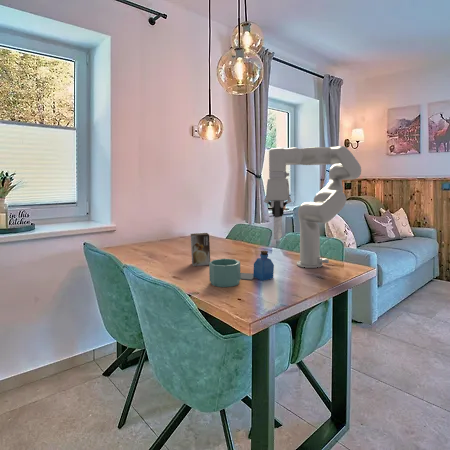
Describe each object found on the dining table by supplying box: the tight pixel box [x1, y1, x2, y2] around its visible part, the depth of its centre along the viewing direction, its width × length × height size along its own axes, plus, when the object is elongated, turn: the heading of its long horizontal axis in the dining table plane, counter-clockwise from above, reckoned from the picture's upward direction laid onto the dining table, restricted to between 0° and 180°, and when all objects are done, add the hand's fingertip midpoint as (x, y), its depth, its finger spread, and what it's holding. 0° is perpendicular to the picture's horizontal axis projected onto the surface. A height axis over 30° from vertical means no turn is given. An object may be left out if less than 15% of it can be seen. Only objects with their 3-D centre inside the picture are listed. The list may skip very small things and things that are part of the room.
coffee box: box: [190, 232, 211, 267], centre depth 180 cm, size 9×6×16 cm
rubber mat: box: [240, 272, 255, 281], centre depth 157 cm, size 12×9×1 cm
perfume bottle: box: [252, 250, 275, 282], centre depth 153 cm, size 6×6×12 cm
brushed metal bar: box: [273, 201, 283, 240], centre depth 161 cm, size 2×9×18 cm, turn 161°
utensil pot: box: [208, 258, 242, 288], centre depth 148 cm, size 12×12×9 cm
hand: (277, 215), depth 161 cm, fingers closed on brushed metal bar, 2 cm apart
